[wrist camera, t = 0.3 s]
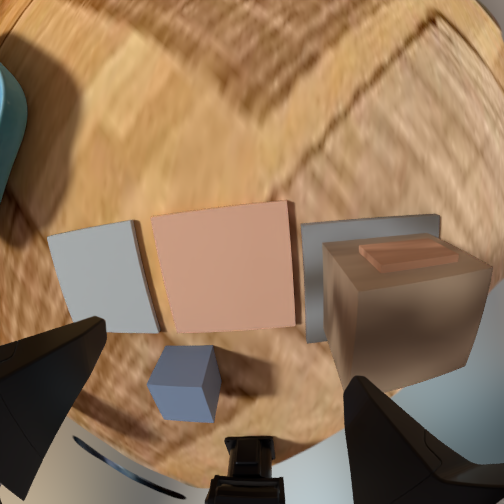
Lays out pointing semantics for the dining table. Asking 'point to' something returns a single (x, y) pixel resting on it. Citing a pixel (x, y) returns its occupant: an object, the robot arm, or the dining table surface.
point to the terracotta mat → (227, 267)
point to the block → (186, 383)
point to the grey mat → (104, 277)
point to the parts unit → (391, 298)
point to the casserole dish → (10, 123)
